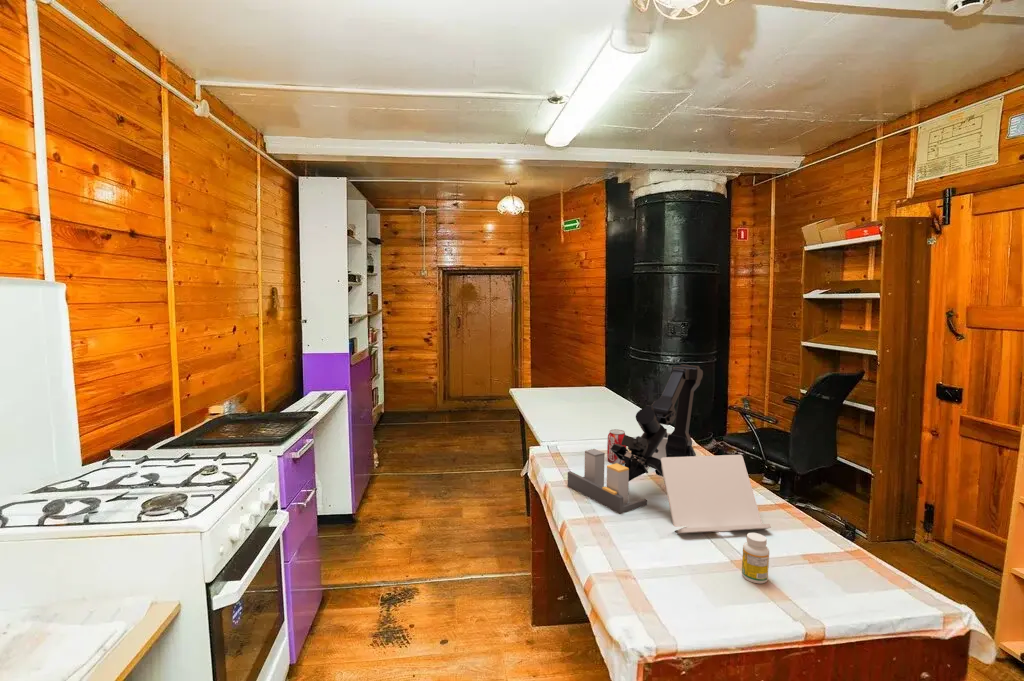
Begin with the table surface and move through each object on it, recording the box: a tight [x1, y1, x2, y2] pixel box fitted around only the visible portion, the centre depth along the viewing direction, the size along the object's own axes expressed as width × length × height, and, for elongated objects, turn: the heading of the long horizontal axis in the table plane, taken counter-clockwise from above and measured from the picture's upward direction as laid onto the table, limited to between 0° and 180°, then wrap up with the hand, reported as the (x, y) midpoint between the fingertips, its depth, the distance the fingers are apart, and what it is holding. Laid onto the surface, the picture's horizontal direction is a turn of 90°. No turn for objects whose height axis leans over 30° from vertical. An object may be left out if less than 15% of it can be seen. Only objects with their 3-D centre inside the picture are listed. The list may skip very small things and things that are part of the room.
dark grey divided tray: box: [567, 471, 648, 515], centre depth 153 cm, size 11×24×7 cm, turn 32°
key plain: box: [583, 448, 606, 487], centre depth 159 cm, size 4×5×12 cm
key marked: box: [606, 463, 630, 505], centre depth 145 cm, size 4×5×12 cm
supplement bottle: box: [741, 532, 770, 585], centre depth 111 cm, size 5×5×10 cm
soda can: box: [606, 428, 627, 465], centre depth 186 cm, size 7×7×12 cm
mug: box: [652, 432, 672, 459], centre depth 188 cm, size 12×9×10 cm
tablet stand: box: [660, 454, 772, 535], centre depth 137 cm, size 18×25×17 cm
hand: (623, 482), depth 147 cm, fingers closed, pressing on key marked
